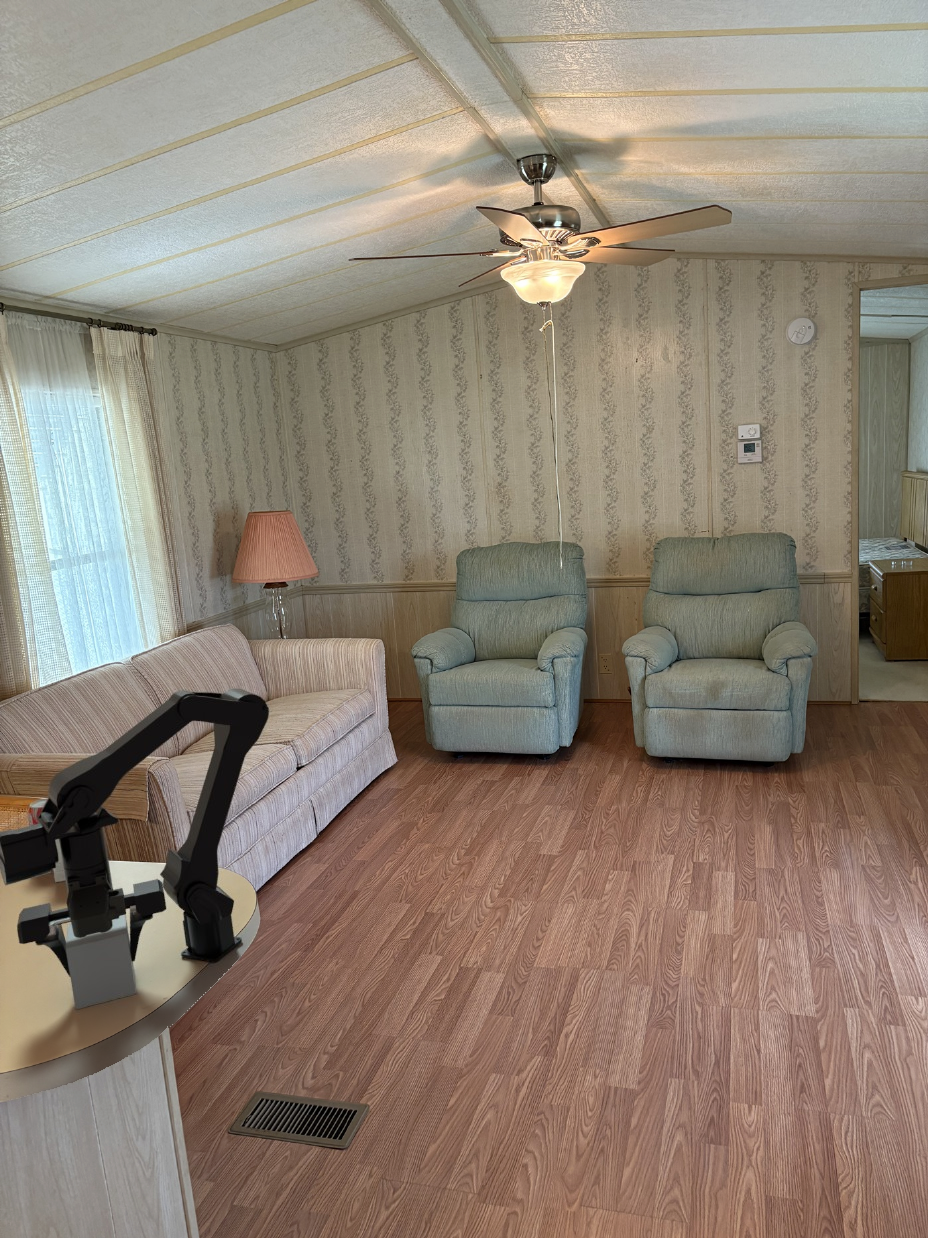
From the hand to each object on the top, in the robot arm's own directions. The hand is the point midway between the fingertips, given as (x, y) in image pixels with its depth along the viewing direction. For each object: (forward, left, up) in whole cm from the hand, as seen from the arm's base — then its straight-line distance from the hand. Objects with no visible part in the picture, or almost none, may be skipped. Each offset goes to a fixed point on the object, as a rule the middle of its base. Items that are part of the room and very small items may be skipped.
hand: (102, 968), depth 132 cm
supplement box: (+37, -31, -3) cm, 48 cm away
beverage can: (+45, -33, -3) cm, 56 cm away
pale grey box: (0, 0, -3) cm, 3 cm away
